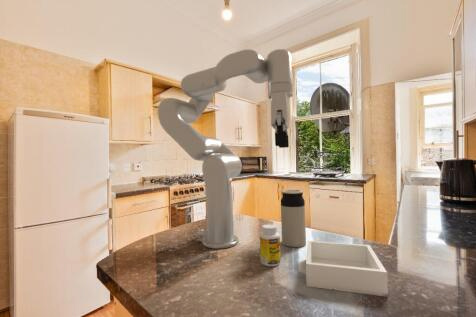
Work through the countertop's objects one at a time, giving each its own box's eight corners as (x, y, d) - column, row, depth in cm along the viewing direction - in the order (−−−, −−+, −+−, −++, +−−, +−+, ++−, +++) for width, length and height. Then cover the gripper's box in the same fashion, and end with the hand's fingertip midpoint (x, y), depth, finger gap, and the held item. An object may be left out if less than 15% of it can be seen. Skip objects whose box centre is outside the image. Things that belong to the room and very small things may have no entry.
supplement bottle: (269, 269, 62) (268, 230, 62) (256, 262, 66) (255, 225, 67) (284, 263, 65) (283, 226, 65) (271, 257, 69) (270, 222, 70)
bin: (306, 286, 53) (305, 263, 53) (308, 257, 68) (307, 240, 68) (387, 296, 48) (387, 272, 48) (370, 263, 63) (369, 245, 63)
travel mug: (311, 244, 78) (309, 191, 79) (292, 249, 75) (290, 193, 75) (295, 238, 86) (293, 188, 86) (277, 242, 82) (275, 190, 82)
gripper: (271, 100, 83) (273, 148, 82) (263, 85, 66) (266, 145, 66) (293, 97, 81) (295, 147, 80) (291, 81, 64) (293, 144, 64)
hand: (282, 146), depth 73 cm, fingers open, 9 cm apart
